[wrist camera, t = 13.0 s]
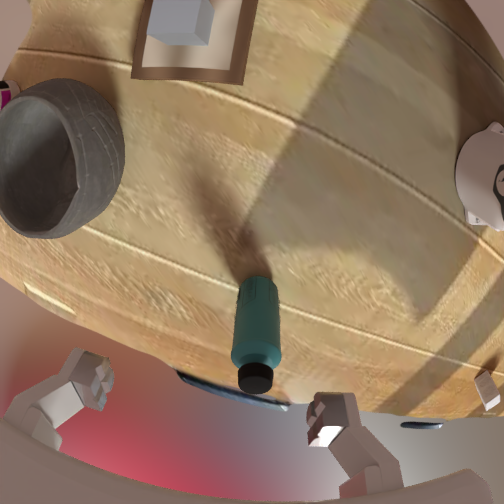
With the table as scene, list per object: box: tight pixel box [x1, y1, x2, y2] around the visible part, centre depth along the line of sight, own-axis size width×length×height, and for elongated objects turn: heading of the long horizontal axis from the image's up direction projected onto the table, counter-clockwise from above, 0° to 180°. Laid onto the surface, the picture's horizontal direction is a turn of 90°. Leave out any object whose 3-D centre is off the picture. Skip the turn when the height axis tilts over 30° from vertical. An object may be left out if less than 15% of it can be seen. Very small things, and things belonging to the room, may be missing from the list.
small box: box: [474, 370, 500, 411], centre depth 58 cm, size 8×6×10 cm
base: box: [131, 0, 258, 86], centre depth 28 cm, size 14×14×4 cm
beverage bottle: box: [231, 276, 281, 394], centre depth 39 cm, size 6×7×20 cm
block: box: [146, 0, 215, 46], centre depth 23 cm, size 5×5×7 cm
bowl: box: [0, 78, 125, 239], centre depth 31 cm, size 21×21×15 cm
